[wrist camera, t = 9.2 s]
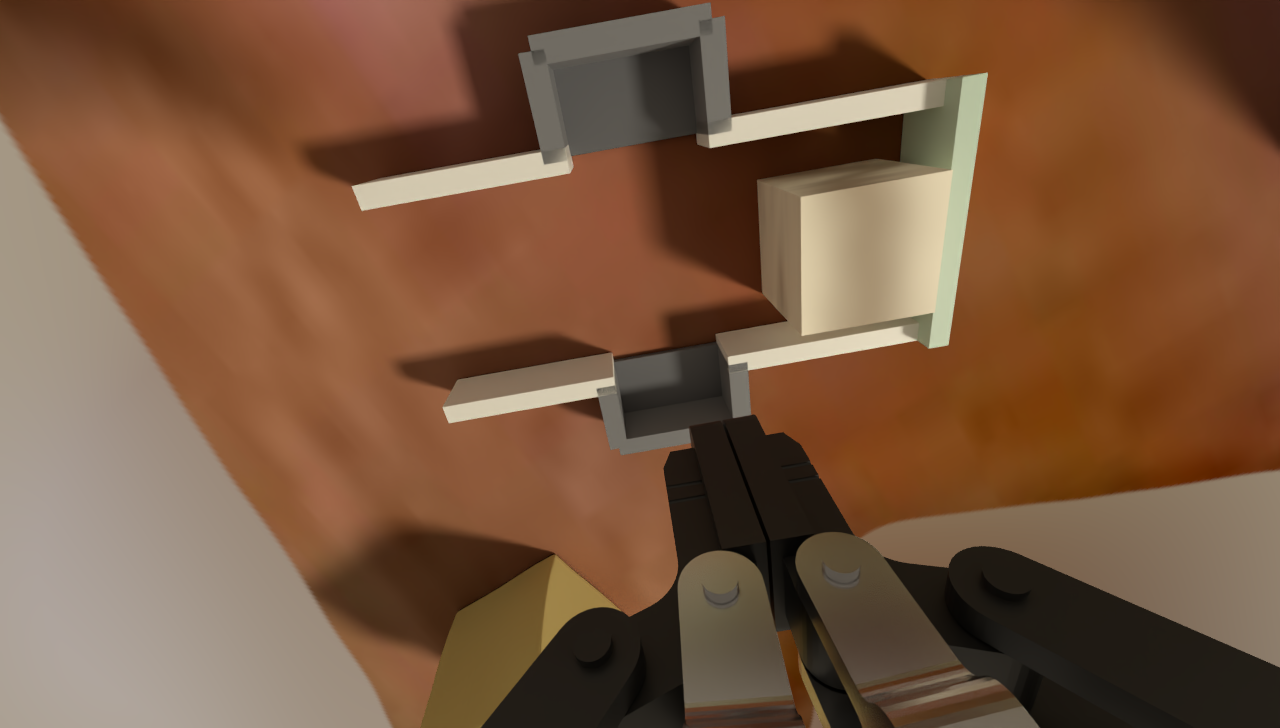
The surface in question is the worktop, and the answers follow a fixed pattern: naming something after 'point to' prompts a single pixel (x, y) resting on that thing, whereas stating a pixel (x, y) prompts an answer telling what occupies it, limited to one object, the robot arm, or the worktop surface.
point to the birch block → (853, 242)
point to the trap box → (700, 104)
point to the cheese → (503, 641)
